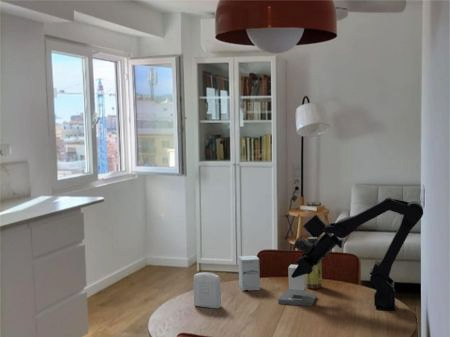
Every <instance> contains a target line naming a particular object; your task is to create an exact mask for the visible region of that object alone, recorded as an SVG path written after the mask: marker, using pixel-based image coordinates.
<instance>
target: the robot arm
mask: <svg viewBox="0 0 450 337" xmlns="http://www.w3.org/2000/svg"><path fill="white" fill-rule="evenodd" d="M388 211H390V212H391V211H392V212H393V213H397V214H399V215H401V216H402V219H401V223H400V225H399V226H398V229H396V233H395V234H394V236H393V238H392V240H391V242H390V244H389V245H388V247H387V250H386V251H385V253H384V255H383V257H382V258H381V260H380V261H378V260H377V259H375V261H374V265H373V267H372V268H370V271H369V275H370V277H369V278H370V279H369V281H370V283H371V284H372V286H374V287H375V292H374V293H373V296H374V297H373V299H374V300H373V303H374V304H373V305H374V307H375V310H379V311H381V310H384V311H385V310H386V311H396V310H397V309H396V289H395V288H394V287H395V280H393V279H392V278H391V276H390V273H391V270H392V267H393V264H394V262H395V261H396V258H397V257H398V255H399V253H400V251H401V248H402V247H403V245H404V244H405V241H406V240H407V237H408V236H409V234H410V233H411V230H412V229H413V228H414V227H416V225H417V223H418V222H419V221H420V220H421V219H422V217H423V215H424V208H423V206H422V204H421V203H420V202H419V201H415V200H413V201H410V202H409V201H405V200H400V199H395V198H393V197H385V198H384V199H382V201H379V202H377V203H376V204H374V205H372V206H370V207H369V208H366V209H365V210H363V211H361V212H358V213H357V214H355V215H351V216H348V217H344V218H341V219H338V221H336V222H333V223H325V222H324V220H322V219H321V218H320V216H319V215H318V214H316V213H315V214H314V215H313V216H312V217H311V218H310V219H309V220H308V221H307V222H305V223H304V225H302V228H303V229H304V230H305V231H306V232H307V233H308V234H309V235H310V237H313V238H314V237H315V238H316V237H317V238H318V241H317V242H314V243H313V244H312V243H310V242H308V240H306V239H304V238H302V237H299V236H298V237H297V238H296V240H295V242H294V245H293V248H295V249H296V250H300V251H301V252H303V253H302V254H301V256H300V257H299V258H298V259H297V260H296V261H295V262H296V265H298V266H297V268H296V269H295V271H294V272H293V274H292V275H291V277H292V278H295V277H298V276H301V275H304V274H308V275H309V274H310V273H311V272H312V271H313V270H314V266H315V265H317V264H318V263H319V261H321V262H322V259H324V258H326V257H327V255H328V254H329V253H330V252H331V251H333V249H334V248H335V247H336V246H337V247H338V248H339V249H342V248H343V247H344V243H343V242H344V238H346V237H348V236H349V235H351V233H353V232H354V231H356V230H357V228H359V227H360V226H362V225H364V224H365V223H368V222H369V221H371V220H372V219H375V218H377V217H379V216H380V215H383V214H385V213H386V212H388ZM323 233H324V234H323ZM321 235H322V236H321ZM314 264H315V265H314Z"/></svg>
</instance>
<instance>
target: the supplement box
mask: <svg viewBox="0 0 450 337" xmlns="http://www.w3.org/2000/svg"><path fill="white" fill-rule="evenodd" d="M260 280H261V278H260V258H259V257H258V256H257V255H239V256H238V282H239V283H238V285H239V288H240V290H241V292H244V291H245V290H248V291H260V290H261V281H260Z"/></svg>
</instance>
